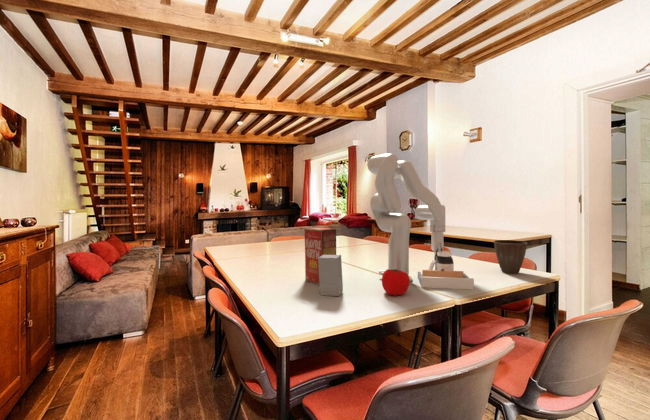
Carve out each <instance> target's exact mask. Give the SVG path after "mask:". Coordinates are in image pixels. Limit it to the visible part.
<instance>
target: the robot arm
mask: <svg viewBox="0 0 650 420" xmlns="http://www.w3.org/2000/svg"><path fill="white" fill-rule="evenodd" d="M366 165H367V166H366V167H367V169H368V171H369V172H370V173H371V174H373V175H376V177H375V180H374V187H375V190H376V193H375V194H373V195H372V196H371V198H370V203H369V205H370V211H371V213H372V214H373V217H374V220H375V223H376V224H377V226H378V228H379V229H380V230H381V231H382V232H385V233H391V234H390V236H389V238H388V243H387V244H388V245H387V246H388V248H387V249H388V250H387V251H388V255H387V256H388V257H387V258H388V266H387V267H388V268H387V270H389V269H390V270H392V269H393V270H394V269H397V270H400V271H402V272H405V273H407V275H408V276H409V278H410V282H412V281H413V277H412V276H411V275H409V273H410V271H409V270H410V265H409V264H410V263H409V262H410V260H409V259H410V258H409V257H410V247H409V246H410V233H411V229H412V220H411V218H410V217H409V216H408V215H407V214H405V213H400V212H399V210H401V206H402V204H401V200H400V197H399V194H398V192H397V188H396V185H395V182H394V180H395V179H398V180H399V181H400V183H401V184H402V187H403V189H404V190H405V192H406V194H407V195H408V196H410V197H412V198H415V199H416V200H419V201H421V202H422V203H424V204H420V205H418V206H417V207H416V208H415V209H414V215H415V216H416V218H418V219H419V220H423V221H424V220H425V221H429V232H430V233H431V235H430V236H431V238H430V239H431V241H430V243H431V244H430V249H431V250H432V252H434V256H433V257H434V260H433V261H435V259H436V256H437V252H438V251H445V250H444V246H445V244H444V243H445V242H444V233H446V206H445V205H444V204H442V203H441V201H440V200H439V198H438V196H437V195H436V194H435V193H434V192H432V191H431V190H430V189H429V188H427V187H426V186H425V185H424V183H422V180H421V178H420V176H419V174H418V173H417V170H416V169H415V166H414V165H413V163H412V161H410V160H408V159H407V160H406V159H405V160H399V158H398V156H397V155H396V154H394V153H382V154H378V155H374V156H372V157H370V158H369V159H368V161H367V164H366ZM385 271H386V270H383V269H381V270H378V275H381V276H383V273H384V272H385Z"/></svg>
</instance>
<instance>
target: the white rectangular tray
mask: <svg viewBox="0 0 650 420" xmlns="http://www.w3.org/2000/svg"><path fill="white" fill-rule="evenodd" d="M417 280H418V282H419V285H420V287H421V288H427V289H429V288H430V289H432V288H433V289H449V290H451V289H454V290H455V289H457V290H473V291H474V290H475V279H474V278H472V277H471V278H470V277H469V276H468V275H467V274H466V273H464V272H463V278H449V277H422V273H421V271H417Z"/></svg>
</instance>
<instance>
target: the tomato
mask: <svg viewBox="0 0 650 420" xmlns="http://www.w3.org/2000/svg"><path fill="white" fill-rule="evenodd" d="M384 271H385V272H384V273H383V275H381V276H382V277H381V286H382V289H383V290H384V291H385V293H386V294H387V295H391V296H402V295H404V294H405V293H406V292H408V289H409V287H410V283H411V281H410V278H409V276H410V275H409V276H408V275H407V273H405V272H402V271H400V270H397V269H394V270H393V269H392V270H390V269H389V270H388V269H385V270H384Z"/></svg>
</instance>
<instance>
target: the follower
mask: <svg viewBox="0 0 650 420" xmlns="http://www.w3.org/2000/svg"><path fill="white" fill-rule="evenodd" d="M421 271H422V273H421V274H422V277H449V278H463V273H464V270H454V271H444V269H441V270H435V269H432V270H429V269H422V270H421Z"/></svg>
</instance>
